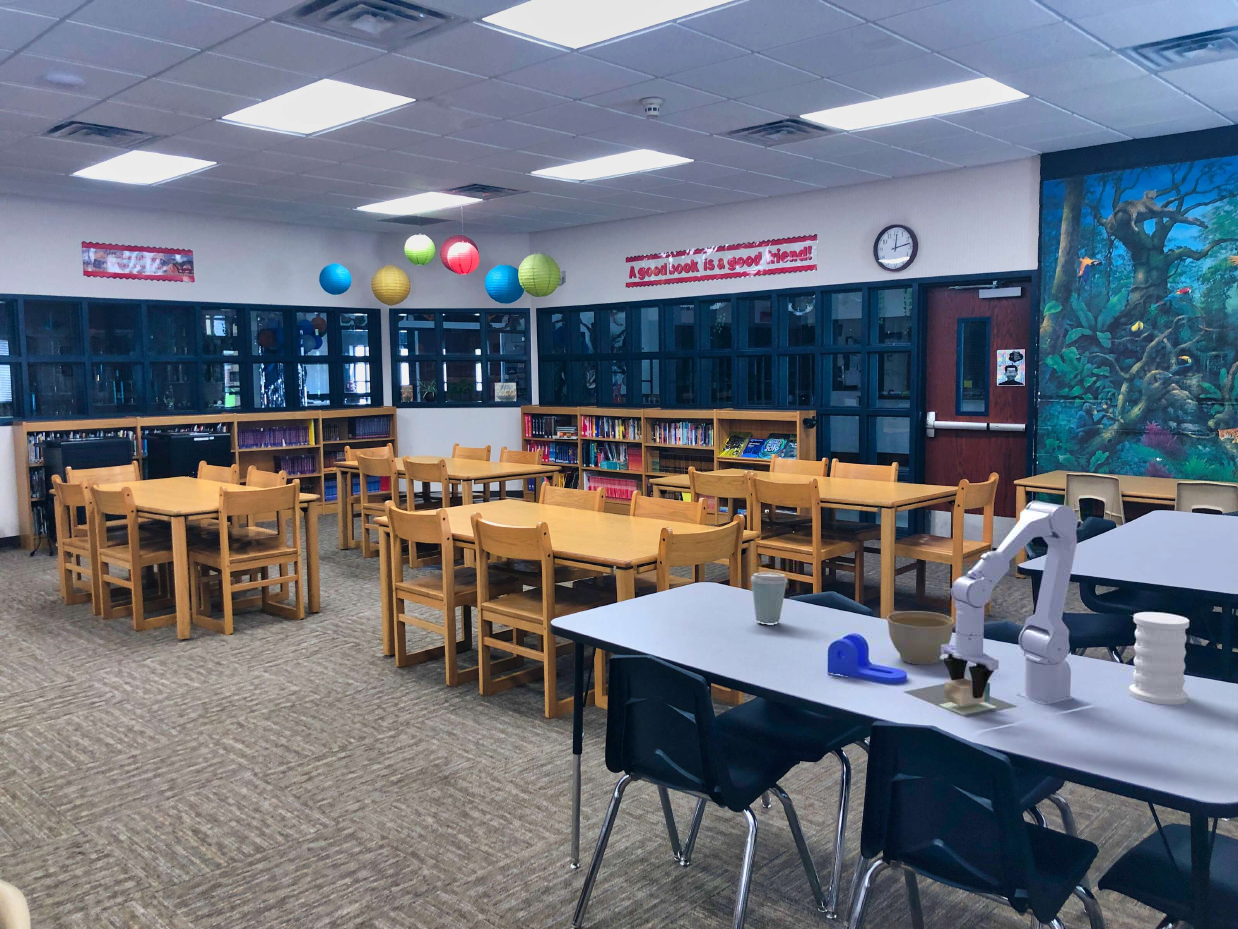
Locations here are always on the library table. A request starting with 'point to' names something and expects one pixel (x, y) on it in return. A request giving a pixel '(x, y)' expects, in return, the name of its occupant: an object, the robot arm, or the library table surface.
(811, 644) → the library table surface
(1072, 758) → the library table surface
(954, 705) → the rubber mat
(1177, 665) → the decorative container
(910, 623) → the planter bowl
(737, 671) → the library table surface
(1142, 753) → the library table surface
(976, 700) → the birch block
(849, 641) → the bracket
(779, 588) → the disposable coffee cup
